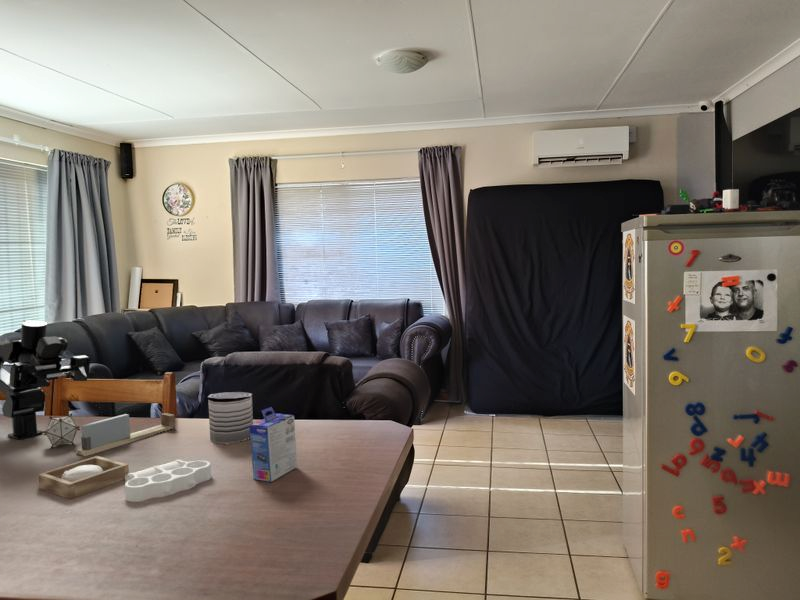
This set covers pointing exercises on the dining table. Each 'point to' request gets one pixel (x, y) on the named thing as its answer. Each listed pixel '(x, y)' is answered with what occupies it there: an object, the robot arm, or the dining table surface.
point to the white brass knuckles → (165, 479)
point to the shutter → (105, 431)
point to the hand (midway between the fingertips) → (68, 381)
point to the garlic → (81, 472)
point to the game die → (61, 430)
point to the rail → (134, 435)
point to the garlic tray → (110, 475)
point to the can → (230, 416)
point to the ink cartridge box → (273, 446)
